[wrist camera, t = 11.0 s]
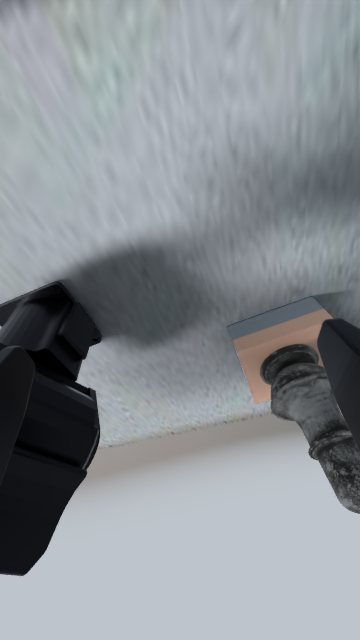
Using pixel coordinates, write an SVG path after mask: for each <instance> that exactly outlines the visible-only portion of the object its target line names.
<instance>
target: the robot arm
mask: <svg viewBox="0 0 360 640" xmlns="http://www.w3.org/2000/svg"><path fill="white" fill-rule="evenodd" d="M54 287H57V288H59V289H60V290H56V289H55V288H54ZM0 326H2V328H1V329H0V574H5V575H17V576H23V575H25V574H26V573H28V571H29V570H30V569H31V568H32V567H33V566H34V565H35V563H36V562H37V561H38V560H39V559H40V558H41V556H42V555H43V554H44V552H45V551H46V549H47V547H48V545H49V542H50V540H51V538H52V536H53V533H54V531H55V528H56V526H57V524H58V522H59V520H60V517H61V515H62V513H63V511H64V509H65V507H66V505H67V504H68V502H69V500H70V498H71V497H72V495H73V493H74V492H75V490H76V489H77V488H78V486H79V485H80V483H81V482H82V481H83V480H84V478H85V477H86V475H87V468H88V467H89V465H90V463H91V461H92V459H93V458H94V455H95V453H96V450H97V447H98V444H99V439H100V424H99V416H98V407H97V399H96V391H95V390H93V389H91V388H86V387H84V386H82V385H81V384H79V383H77V382H75V381H76V380H77V377H78V374H79V370H80V367H81V363H82V360H84V359H86V357H87V353H88V350H89V347H90V346H93V345H95V344H98V343H100V342H101V339H102V335H101V334H100V333H99V331H98V330H97V329H96V327H95V323H94V322H93V321H92V320H91V318H90V317H89V316H88V314H87V313H86V312H85V310H84V309H83V308H82V306H81V305H80V304H79V303H78V302H76V301H75V300H74V298H73V297H72V296H71V295H70V293H69V292H68V291H67V289H66V288H65V287H64V285H63V284H62V283H60V282H53V283H51V284H49V285H46V286H44V287H41V288H39V289H37V290H34V291H32V292H30V293H27V294H25V295H23V296H20V297H18V298H15V299H13V300H11V301H8V302H6V303H4V304H1V305H0ZM94 337H97V338H98V339H95V338H94ZM317 347H318V350H319V353H320V356H321V359H322V363H323V366H324V369H325V372H326V375H327V378H328V381H329V384H330V387H331V390H332V392H333V395H334V397H335V399H336V402H337V404H338V406H339V408H340V410H341V413H342V415H343V417H344V419H345V421H346V423H347V425H348V428H349V430H350V432H351V434H352V436H353V438H354V441H355V443H356V445H357V447H358V449H359V451H360V329H359V328H357V327H355V326H353V325H352V324H350V323H348V322H346V321H345V320H343V319H340V318H334V319H326V320H324V321H323V323H322V326H321V329H320V332H319V335H318V338H317Z"/></svg>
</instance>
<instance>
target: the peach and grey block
mask: <svg viewBox="0 0 360 640" xmlns="http://www.w3.org/2000/svg"><path fill="white" fill-rule="evenodd" d="M326 319H333V318H332V316H331V315H330V314H329V313H328V312H327V311H326V310H325V309H324V308H323V307H322V306H321V305H320V304H319V303H318V302H317V301H316V300H315V299H314V298H313V297H312V296H311V297H308V298H305V299H303V300H300V301H297V302H294V303H291V304H288V305H286V306H283V307H280V308H277V309H274V310H272V311H269V312H266V313H263V314H260V315H258V316H255V317H252V318H249V319H246V320H244V321H241V322H238V323H235V324H232V325H230V326H227V328H228V331H229V334H230V337H231V340H232V342H233V345H234V348H235V351H236V354H237V356H238V359H239V362H240V365H241V368H242V370H243V373H244V376H245V379H246V381H247V384H248V387H249V389H250V392H251V394H252V397H253V400H254V402H255V404H258V403H261V402H264V401H268V400H271V385H269V384H266V383H265V382H264V381H263V380H262V378H261V376H260V368H261V365H262V363H263V362H264V360H265V359H266V358H267V357H268V356H269V355H270V354H272V353H273V352H275V351H276V350H278V349H280V348H283V347H286V346H290V345H294V344H303V345H308V346H310V347H312V348H314V349H315V350H316V352H317V353H318V356H319V362H318V365H320V366H322V367H324V366H323V363H322V359H321V356H320V353H319V350H318V347H317V338H318V335H319V332H320V329H321V326H322V323H323V321H324V320H326Z"/></svg>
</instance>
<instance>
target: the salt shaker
mask: <svg viewBox="0 0 360 640" xmlns="http://www.w3.org/2000/svg"><path fill="white" fill-rule="evenodd" d="M318 362H319V356H318V353H317V352H316V350H315V349H314V348H312V347H310V346H308V345H303V344H294V345H290V346H286V347H283V348H280V349H278V350H276V351H275V352H273V353H272V354H270V355H269V356H268V357H267V358H266V359H265V360H264V362H263V363H262V365H261V368H260V376H261V378H262V380H263V381H264V382H265V383H266V384H269V385H271V400H272V401H271V410H272V412H273V414H274V415H275V416H277V417H278V418H280V419H283V420H287V421H295V422H296V423H297V424H298V425H299V426H300V428H301V429H302V431H303V433H304V435H305V437H306V439H307V441H308V443H309V445H310V449H309V455H310V457H311V458H313V459H315V460H318V461H319V462H320V464H321V466H322V468H323V470H324V472H325V474H326V476H327V478H328V480H329V482H330V484H331V486H332V488H333V490H334V492H335V494H336V496H337V498H338V500H339V501H340V503H341V504H342V505H343V506H344V507H345V508H347V509H348V510H350V511H352V512H355V513H358V514H360V451H359V449H358V447H357V445H356V443H355V441H354V438H353V436H352V434H351V432H350V430H349V428H348V425H347V423H346V421H345V419H344V418H343V416H342V415H341V413H340V411H339V408H338V405H337V402H336V399H335V397H334V395H333V392H332V390H331V387H330V384H329V381H328V378H327V375H326V372H325V369H324V367H322V366H320V365H318Z"/></svg>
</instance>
